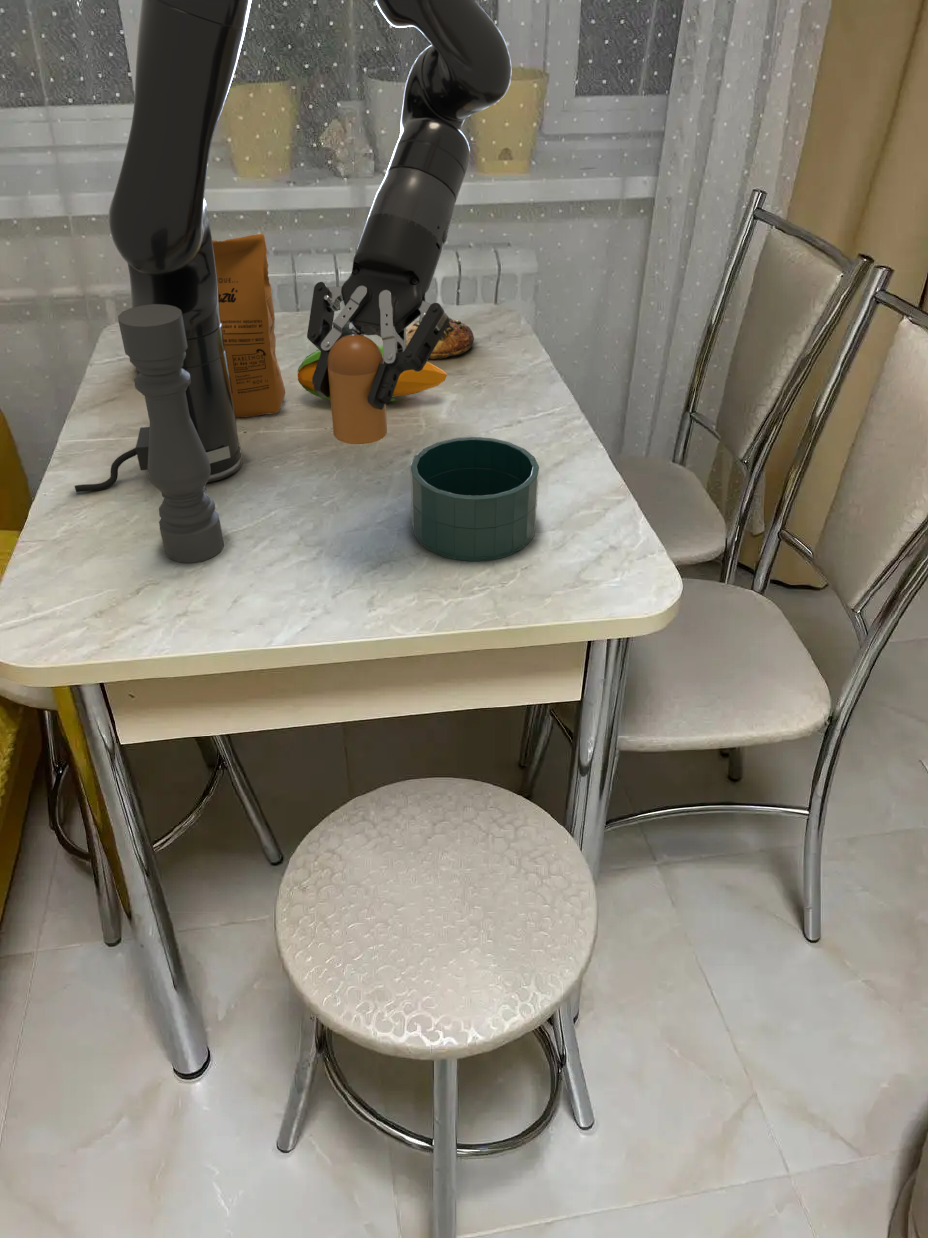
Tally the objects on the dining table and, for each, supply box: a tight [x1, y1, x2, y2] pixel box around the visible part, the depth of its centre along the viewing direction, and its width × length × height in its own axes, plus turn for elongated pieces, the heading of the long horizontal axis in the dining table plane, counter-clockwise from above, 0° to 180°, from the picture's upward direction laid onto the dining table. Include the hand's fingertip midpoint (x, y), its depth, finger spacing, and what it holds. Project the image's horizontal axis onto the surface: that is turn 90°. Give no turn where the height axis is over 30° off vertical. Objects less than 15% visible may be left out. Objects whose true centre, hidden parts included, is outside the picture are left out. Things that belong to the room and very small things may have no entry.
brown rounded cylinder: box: [328, 335, 388, 446], centre depth 92 cm, size 5×5×10 cm
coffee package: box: [212, 233, 286, 418], centre depth 125 cm, size 10×12×22 cm
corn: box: [296, 345, 448, 402], centre depth 131 cm, size 7×8×20 cm
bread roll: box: [406, 317, 475, 360], centre depth 147 cm, size 11×11×5 cm
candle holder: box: [117, 304, 225, 564], centre depth 96 cm, size 6×6×25 cm
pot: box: [409, 436, 540, 562], centre depth 105 cm, size 13×13×8 cm
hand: (348, 399), depth 91 cm, fingers closed on brown rounded cylinder, 5 cm apart
